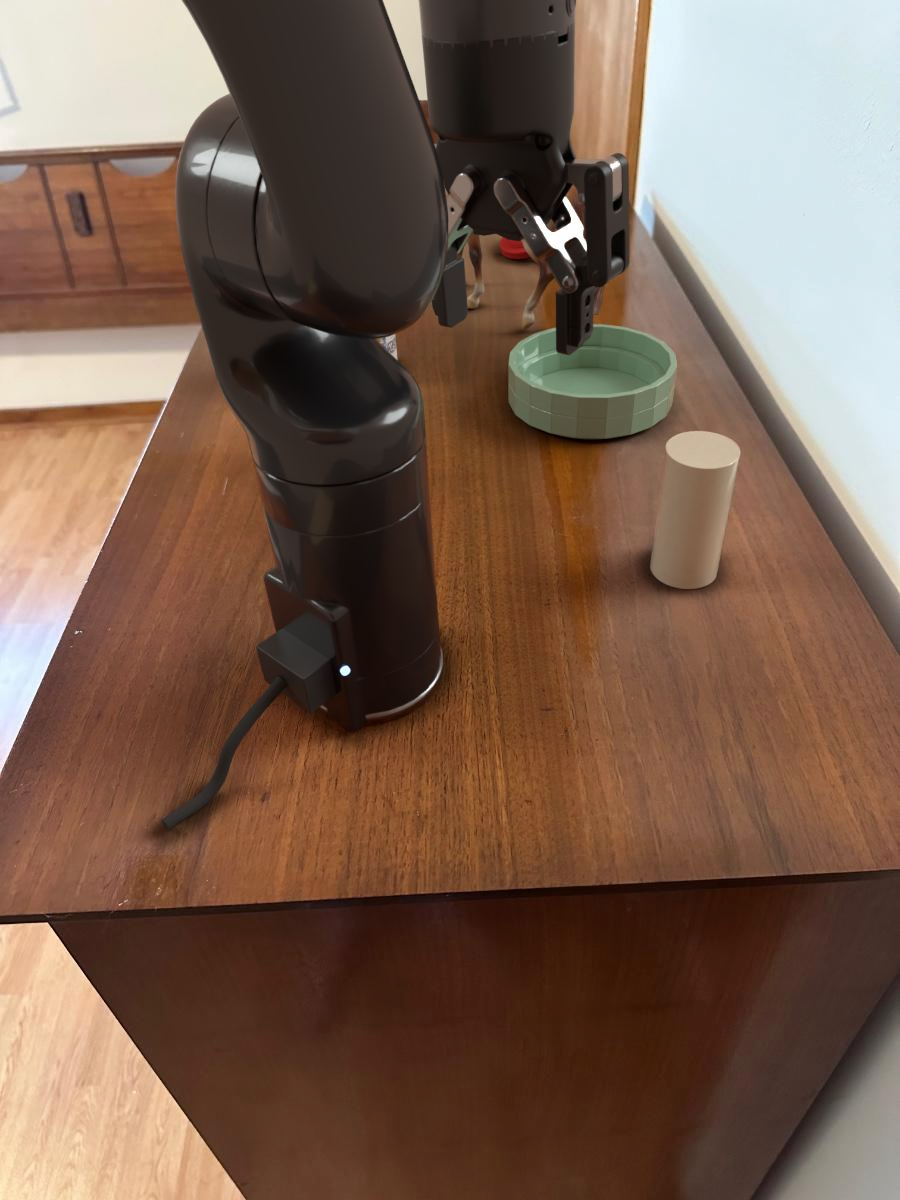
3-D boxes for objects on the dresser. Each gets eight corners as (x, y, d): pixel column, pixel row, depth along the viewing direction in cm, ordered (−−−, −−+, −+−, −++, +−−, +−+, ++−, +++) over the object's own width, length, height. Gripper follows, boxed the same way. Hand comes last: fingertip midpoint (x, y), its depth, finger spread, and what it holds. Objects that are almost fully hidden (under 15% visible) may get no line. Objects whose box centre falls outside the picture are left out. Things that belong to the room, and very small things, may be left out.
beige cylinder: (695, 598, 62) (717, 476, 56) (637, 571, 65) (651, 452, 58) (729, 565, 65) (754, 445, 58) (672, 540, 67) (689, 423, 61)
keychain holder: (487, 251, 113) (509, 208, 118) (498, 281, 116) (519, 238, 121) (578, 237, 107) (597, 192, 113) (587, 269, 110) (605, 224, 116)
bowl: (610, 461, 76) (614, 415, 73) (476, 409, 84) (475, 365, 81) (701, 395, 84) (708, 350, 82) (571, 353, 92) (573, 311, 90)
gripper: (338, 31, 45) (381, 337, 55) (585, 36, 38) (581, 386, 48) (429, 6, 49) (453, 294, 59) (666, 6, 42) (646, 334, 52)
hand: (510, 335), depth 54 cm, fingers open, 8 cm apart
